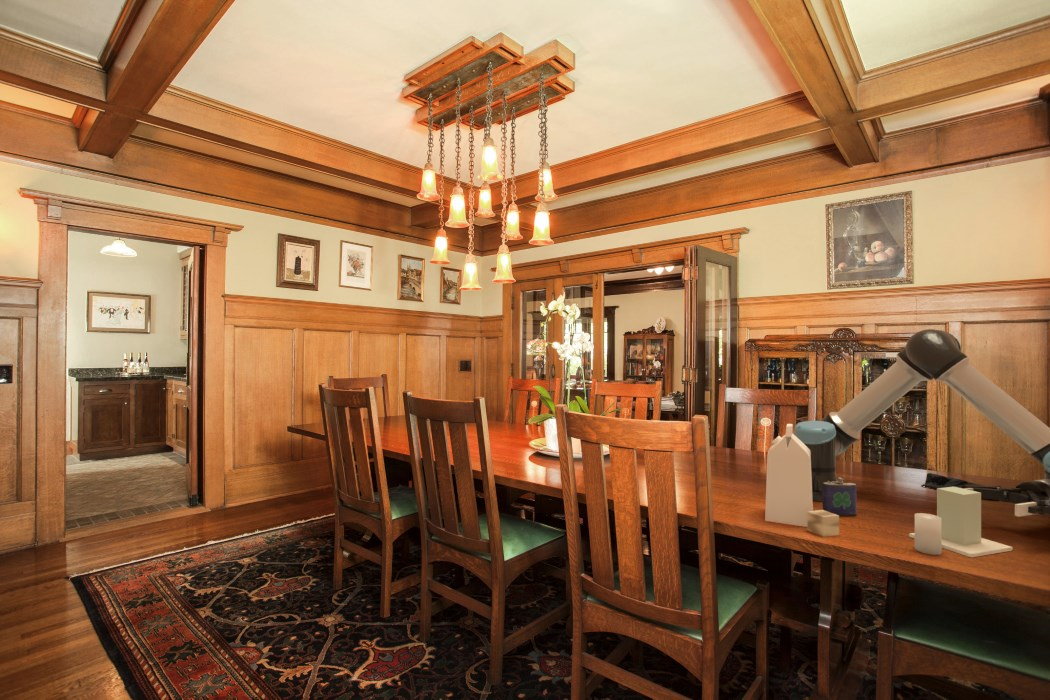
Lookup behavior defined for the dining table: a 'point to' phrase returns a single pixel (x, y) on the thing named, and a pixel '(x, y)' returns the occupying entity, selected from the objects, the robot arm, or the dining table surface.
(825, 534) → the maple cube
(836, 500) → the flask
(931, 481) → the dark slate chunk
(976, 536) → the sage block
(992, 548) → the white tile
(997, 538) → the dining table surface
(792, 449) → the milk
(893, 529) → the dining table surface
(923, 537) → the white cylinder
